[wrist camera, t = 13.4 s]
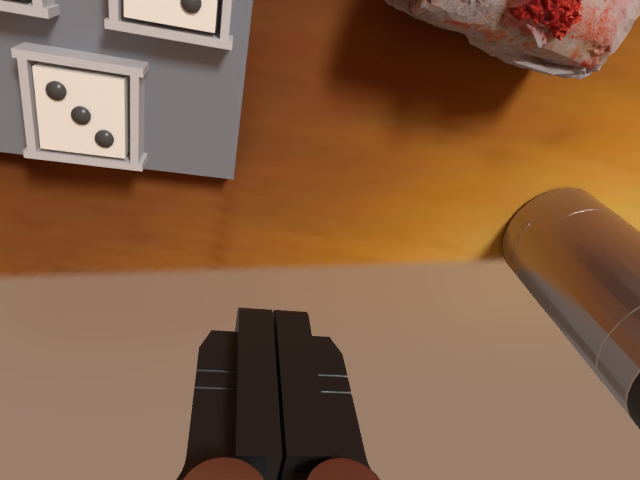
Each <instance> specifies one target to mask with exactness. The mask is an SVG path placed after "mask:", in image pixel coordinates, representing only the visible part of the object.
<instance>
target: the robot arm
mask: <svg viewBox="0 0 640 480" xmlns="http://www.w3.org/2000/svg"><path fill="white" fill-rule="evenodd" d="M502 250H503V256H504V258H505V260H506V262H507V264H508V265H509V266H510V268H511V269H512V270H513V271H514V273H515V274H516V275H517V276H518V277H519V279H520V280H521V281H522V283H523V284H524V285H525V286H526V288H527V289H528V290H529V292H530V293H531V294H532V295H533V297H534V298H535V299H536V300H537V302H538V303H539V304H540V305H541V307H542V308H543V309H544V310H545V312H546V313H547V314H548V315H549V317H550V318H551V319H552V320H553V322H555V324H556V325H557V327H558V328H559V329H560V330H561V332H562V333H563V334H564V335H565V336H566V338H567V339H568V340H569V341H570V343H571V344H572V345H573V347H574V348H575V349H576V350H577V351H578V353H579V354H580V355H581V356H582V358H583V359H584V360H585V362H586V363H587V364H588V365H589V367H590V368H591V369H592V370H593V371H594V373H595V374H596V375H597V377H598V378H599V379H600V380H601V382H602V383H603V384H604V385H605V386H606V387H607V389H608V390H609V391H610V392H611V394H612V395H613V396H614V397H615V399H616V400H617V401H618V402H619V404H620V405H621V406H622V407H623V408H624V410H625V411H626V412H627V414H628V415H629V416H630V417H631V419H632V420H633V421H634V422H635V424H636V425H637V426H638V427H639V429H640V231H638V230H637V229H636V228H634V227H633V226H632V225H630V224H629V223H628V222H626V221H625V220H624V219H622V218H621V217H620V216H619V215H617V214H616V213H615V212H613V211H612V210H610V209H609V208H608V207H606V206H605V205H604V204H602V203H601V202H600V201H598V200H597V199H596V198H594V197H593V196H592V195H590V194H589V193H587V192H585V191H582V190H580V189H573V188H564V189H557V190H553V191H549V192H546V193H544V194H542V195H540V196H538V197H536V198H534V199H533V200H531V201H530V202H528V203H527V204H526V205H525V206H524V207H522V208H521V209H520V210H519V211H518V212H517V213H516V215H515V216H514V217H513V218H512V220H511V221H510V223H509V225H508V227H507V229H506V231H505V234H504V237H503V244H502ZM350 392H351V390H350V385H349V381H348V378H347V373H346V368H345V363H344V359H343V355H342V353H341V352H340V351H339V349H338V348H337V347H336V345H335V344H334V343H333V342H332V340H331V339H330V337H320V336H312V334H311V328H310V322H309V316H308V313H307V312H297V311H283V310H274V311H273V312H272V310H266V309H251V308H238V312H237V320H236V327H235V332H230V331H214V330H213V331H211V332H210V333H209V335H208V336H207V337H206V339H205V340H204V342H203V343H202V344H201V346H200V347H199V354H198V363H197V372H196V380H195V389H194V397H193V405H192V414H191V422H190V431H189V439H188V448H187V456H186V461H185V465H184V467H183V470H182V472H181V473H180V475H179V477H178V478H177V480H380V479H379V477H378V476H377V475H376V474H375V473H374V472H373V471H372V470H371V469H370V467H369V465H368V462H367V459H366V455H365V451H364V446H363V442H362V438H361V433H360V429H359V425H358V420H357V416H356V411H355V407H354V403H353V398H352V395H351V394H350Z"/></svg>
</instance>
